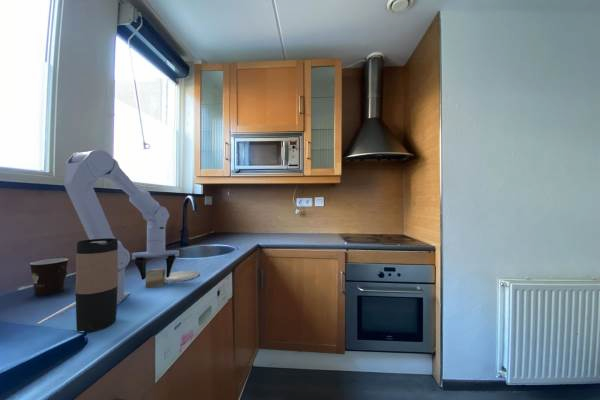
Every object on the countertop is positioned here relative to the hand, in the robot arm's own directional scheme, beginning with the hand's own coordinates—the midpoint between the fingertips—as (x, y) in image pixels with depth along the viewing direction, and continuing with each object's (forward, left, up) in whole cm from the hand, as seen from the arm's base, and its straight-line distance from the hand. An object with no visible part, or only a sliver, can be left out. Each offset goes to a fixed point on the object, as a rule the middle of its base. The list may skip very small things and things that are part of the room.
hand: (156, 277), depth 86 cm
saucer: (+7, -7, -2) cm, 11 cm away
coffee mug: (+1, +31, -3) cm, 31 cm away
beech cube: (0, 0, -3) cm, 3 cm away
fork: (-14, +18, -3) cm, 22 cm away
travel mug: (-29, +6, -3) cm, 29 cm away
